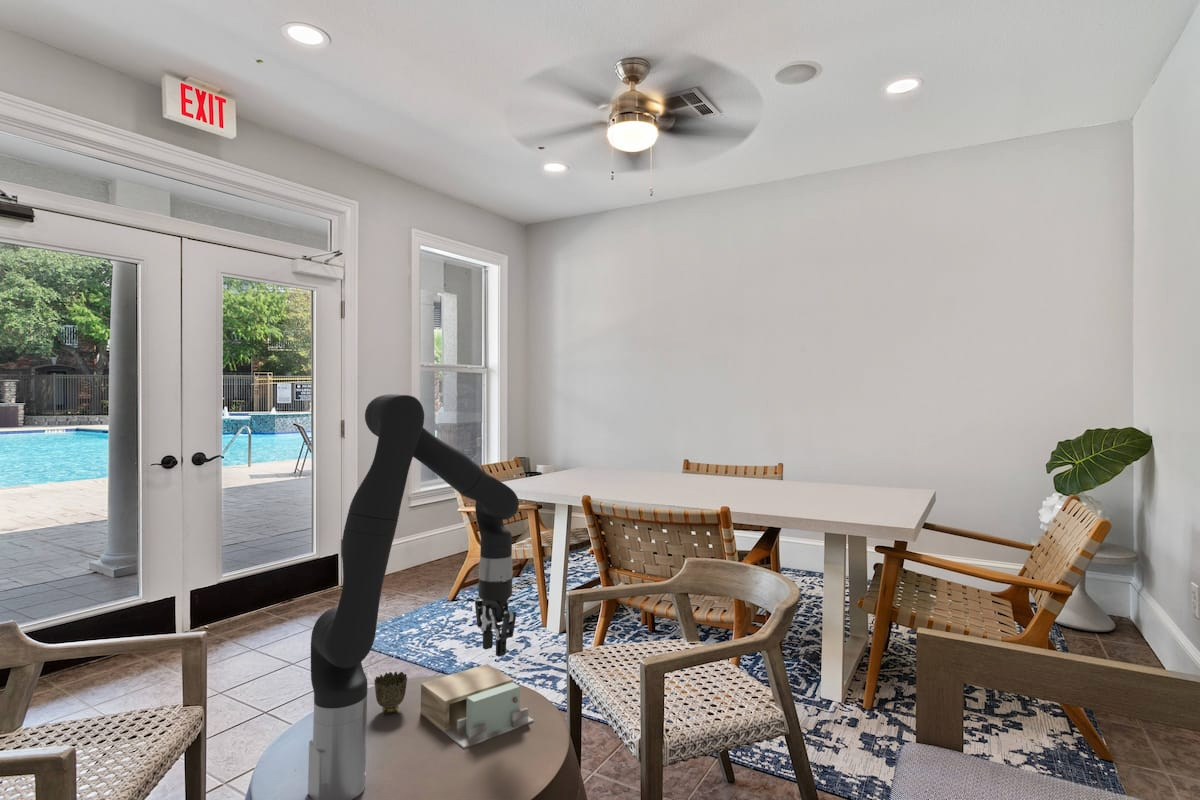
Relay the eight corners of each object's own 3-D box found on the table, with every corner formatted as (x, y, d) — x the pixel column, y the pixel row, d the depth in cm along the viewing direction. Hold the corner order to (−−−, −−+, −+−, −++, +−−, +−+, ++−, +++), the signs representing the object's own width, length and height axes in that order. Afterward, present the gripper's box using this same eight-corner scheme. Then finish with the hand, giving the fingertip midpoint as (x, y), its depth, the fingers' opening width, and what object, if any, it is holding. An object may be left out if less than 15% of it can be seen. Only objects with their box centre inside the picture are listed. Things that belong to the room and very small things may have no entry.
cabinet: (463, 748, 130) (464, 715, 130) (420, 713, 145) (421, 683, 145) (533, 721, 142) (534, 690, 142) (486, 691, 157) (487, 663, 157)
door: (475, 741, 132) (475, 703, 133) (466, 734, 135) (466, 697, 136) (521, 723, 140) (522, 687, 140) (512, 717, 143) (512, 682, 143)
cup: (372, 707, 148) (373, 673, 148) (404, 702, 151) (405, 669, 151) (375, 721, 141) (376, 686, 141) (408, 715, 144) (409, 680, 144)
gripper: (464, 572, 142) (463, 646, 142) (498, 585, 131) (497, 666, 131) (492, 567, 147) (491, 639, 147) (527, 579, 136) (526, 657, 136)
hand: (494, 651), depth 139 cm, fingers open, 5 cm apart
